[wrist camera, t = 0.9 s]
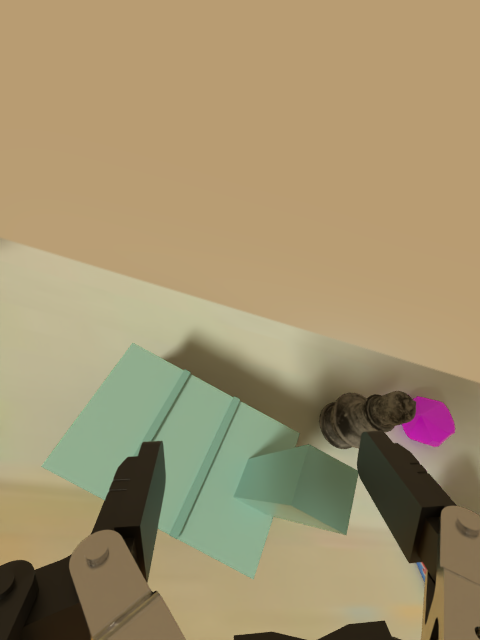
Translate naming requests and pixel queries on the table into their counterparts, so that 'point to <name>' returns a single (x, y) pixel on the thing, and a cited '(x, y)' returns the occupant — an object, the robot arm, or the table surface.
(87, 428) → the lid
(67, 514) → the table surface
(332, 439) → the grey chess bishop
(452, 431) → the magenta icosahedron
